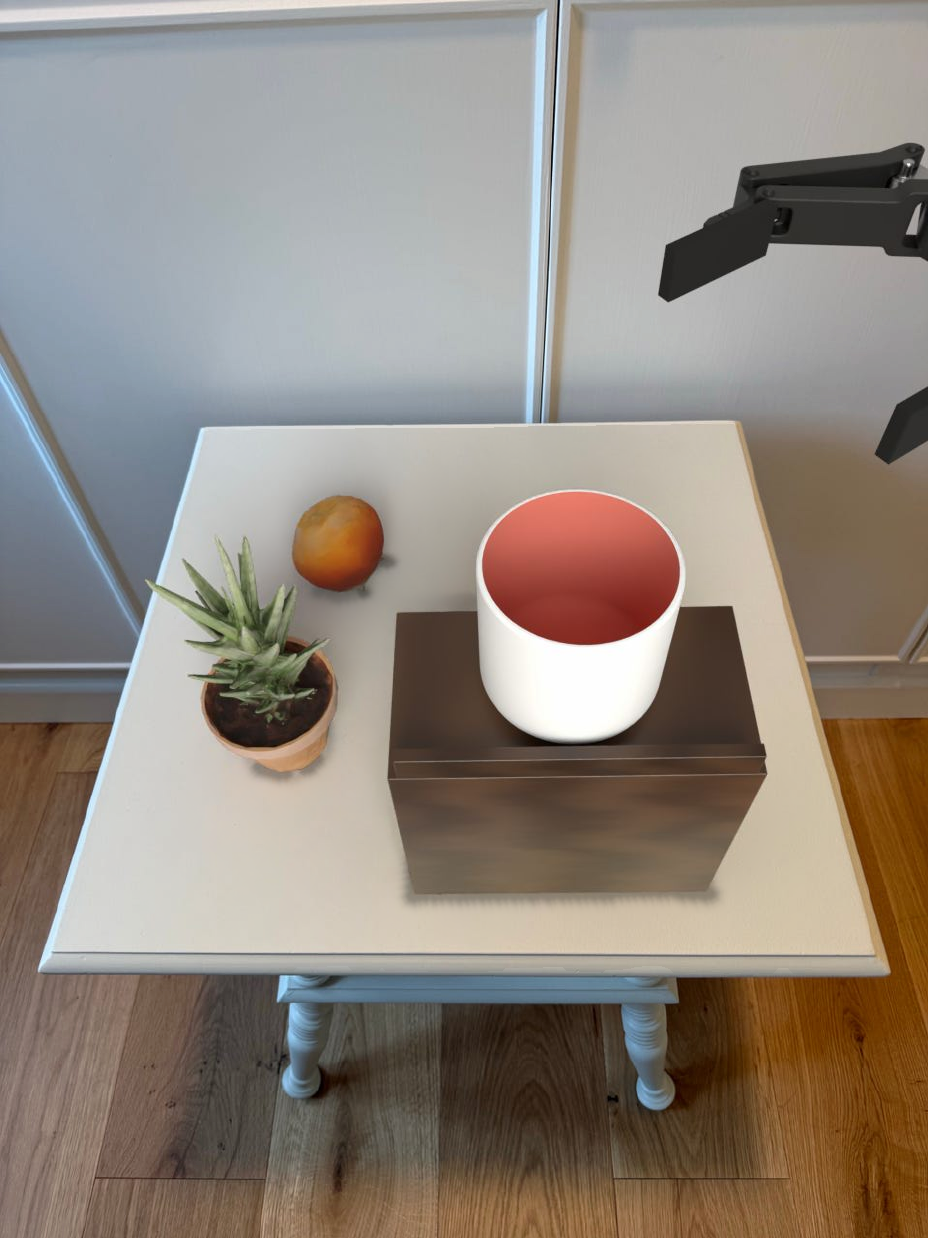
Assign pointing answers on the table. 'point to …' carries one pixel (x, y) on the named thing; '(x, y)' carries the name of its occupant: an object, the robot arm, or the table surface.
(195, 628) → the table surface
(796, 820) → the table surface
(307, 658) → the potted plant
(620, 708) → the cup
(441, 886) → the brown lidded box
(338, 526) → the fruit
